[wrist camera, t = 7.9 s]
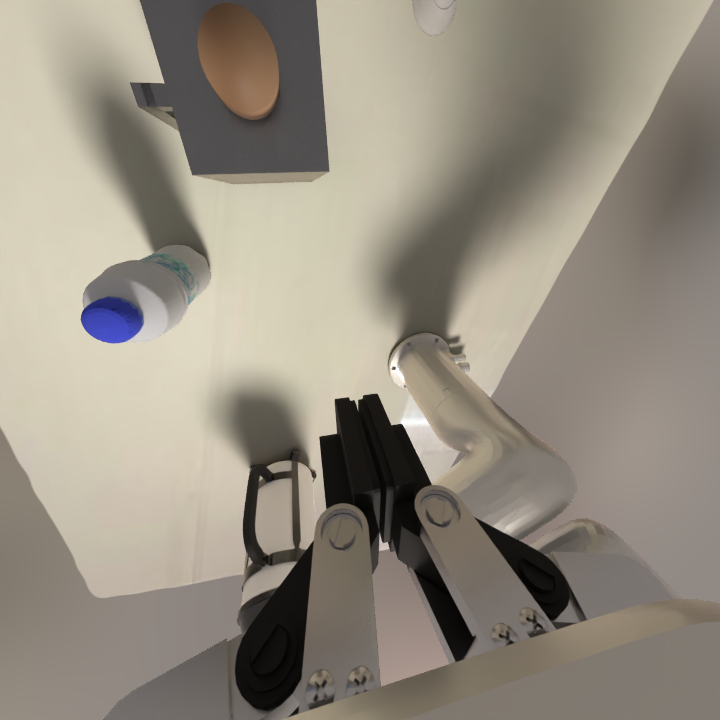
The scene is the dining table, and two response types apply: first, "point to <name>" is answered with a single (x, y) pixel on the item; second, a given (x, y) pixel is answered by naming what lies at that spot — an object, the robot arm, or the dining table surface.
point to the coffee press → (274, 530)
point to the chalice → (434, 15)
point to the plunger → (239, 60)
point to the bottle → (144, 295)
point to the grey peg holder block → (215, 120)
